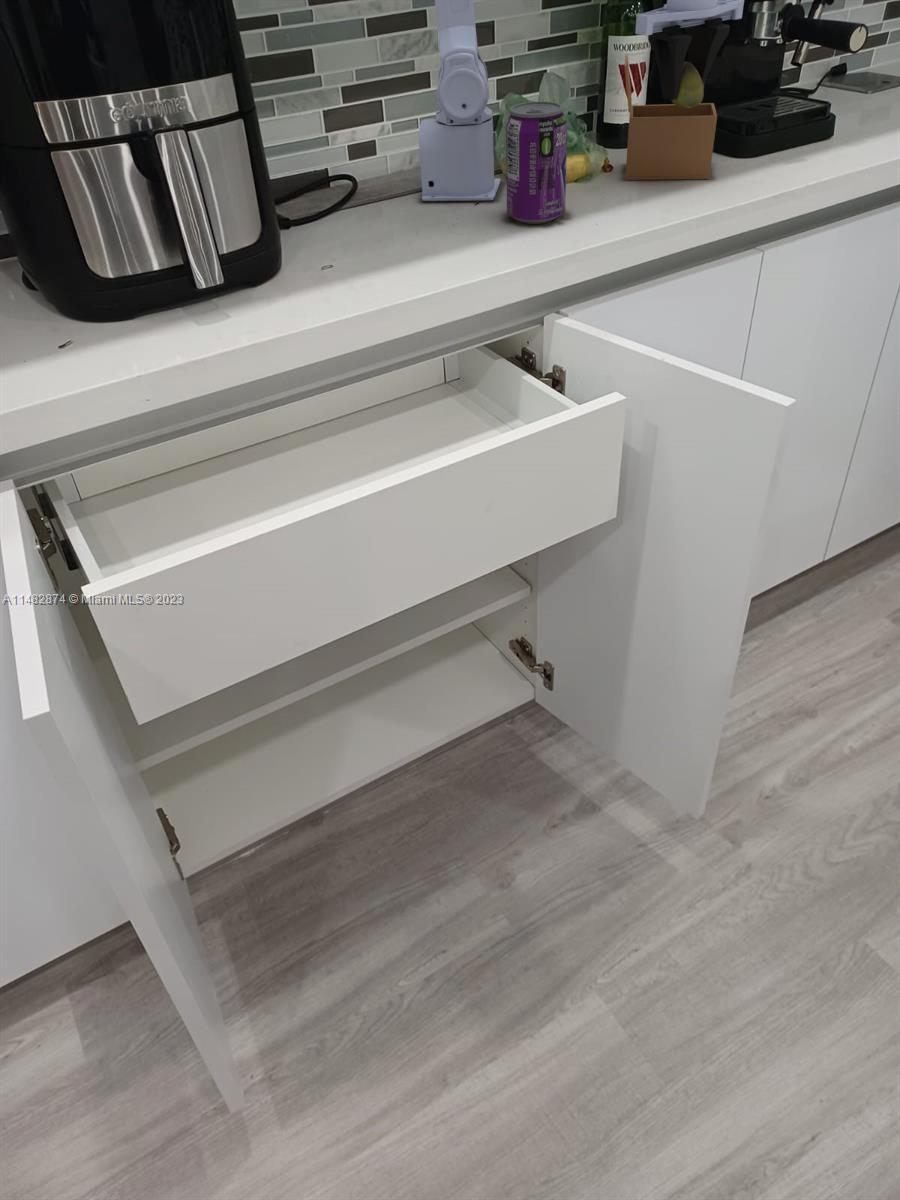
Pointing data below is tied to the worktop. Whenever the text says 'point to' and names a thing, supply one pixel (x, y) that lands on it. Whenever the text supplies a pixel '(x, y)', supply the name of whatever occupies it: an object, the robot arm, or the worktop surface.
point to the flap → (628, 83)
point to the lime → (690, 87)
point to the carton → (670, 142)
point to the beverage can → (536, 161)
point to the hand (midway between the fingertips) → (682, 95)
